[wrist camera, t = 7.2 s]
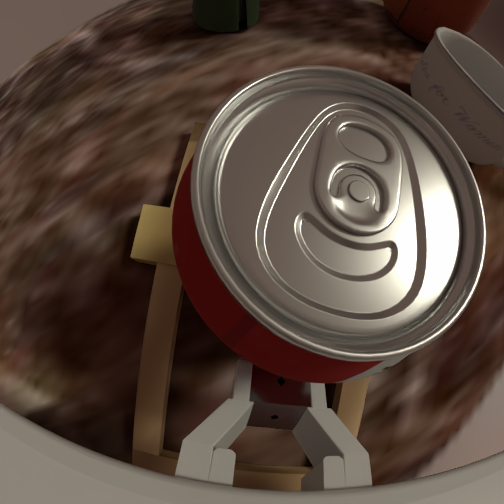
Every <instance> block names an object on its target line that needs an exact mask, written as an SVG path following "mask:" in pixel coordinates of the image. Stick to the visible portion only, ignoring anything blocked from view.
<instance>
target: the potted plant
mask: <svg viewBox="0 0 504 504" xmlns="http://www.w3.org/2000/svg"><path fill="white" fill-rule="evenodd" d="M490 1H491V0H383V2H384V6H385V10H386V12H387V14H388V15H389V17H390V18H391V20H392V21H393V22H394V23H395V25H396V26H398V27H399V28H400V29H401V30H402V31H403V32H405V33H406V34H408V35H409V36H411V37H413V38H414V39H416V40H419V41H421V42H423V43H426V44H429V43H430V42H431V40H432V39H433V37H434V32H435V30H436V29H437V28H439V27H446V28H448V29H452V30H454V31H456V32H459V33H461V34H462V35H465V34H466V33H467V32H468V31H470V30H471V28H472V27H473V26H474V24H475V23H476V21H477V20H478V18H479V17H480V16H481V14H482V13H483V12H484V10H485V9H486V7H487V6H488V4H489V3H490Z"/></svg>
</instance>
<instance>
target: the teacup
mask: <svg viewBox="0 0 504 504" xmlns="http://www.w3.org/2000/svg"><path fill="white" fill-rule="evenodd" d="M410 88H411V95H412V98H413V99H415V100H416V101H417V102H419V103H420V104H421V105H422V106H423V107H425V108H426V109H427V110H428V111H429V112H430V113H431V114H432V115H433V116H434V117H435V118H436V119H437V120H438V121H439V122H440V123H441V124H442V125H443V126H444V127H445V129H446V130H447V131H448V132H449V134H450V135H451V136H452V138H453V139H454V140H455V142H456V143H457V145H458V146H459V148H460V149H461V151H462V153H463V154H464V156H465V158H466V160H467V161H469V162H472V163H475V164H480V165H487V164H491V163H492V164H493V165H494V166H495V167H496V168H503V169H504V67H503V66H502V65H501V64H500V63H499V62H498V61H497V60H496V59H495V58H494V57H493V56H491V55H490V54H489V53H488V52H487V51H485V50H484V49H483V48H482V47H481V46H479V45H478V44H477V43H475V42H474V41H472V40H471V39H469V38H468V37H466V36H464V35H462V34H461V33H459V32H456V31H454V30H452V29H448V28H446V27H439V28H437V29H436V30H435V32H434V37H433V39H432V40H431V42H430V43H429V45H428V47H427V48H426V50H425V52H424V53H423V55H422V57H421V58H420V60H419V62H418V64H417V66H416V68H415V70H414V72H413V75H412V78H411V86H410Z"/></svg>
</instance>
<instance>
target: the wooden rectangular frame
mask: <svg viewBox="0 0 504 504" xmlns="http://www.w3.org/2000/svg"><path fill="white" fill-rule="evenodd" d="M205 125H206V123H196V122H195V124H194V127H193V130H192V133H191V136H190V139H189V142H188V146H187V149H186V152H185V156H184V159H183V162H182V166H181V169H180V173H179V176H178V180H177V184H176V187H175V191H174V195H173V199H172V202H171V206H170V208H168V207H161V206H153V205H146V204H144V205H143V209H142V212H141V216H140V220H139V223H138V227H137V231H136V235H135V239H134V243H133V248H132V252H131V256H130V257H131V258H132V259H134V260H135V261H137V262H141V263H146V264H152V265H157V267H156V272H155V277H154V282H153V287H152V292H151V298H150V303H149V309H148V315H147V321H146V327H145V333H144V340H143V347H142V354H141V362H140V370H139V378H138V387H137V397H136V407H135V419H134V433H133V451H132V465H135V466H138V467H141V468H145V469H148V470H152V471H155V472H159V473H163V474H167V475H171V476H175V472H176V468H177V463H178V459H179V455H180V453H177V452H173V451H169V450H164V449H163V440H164V430H165V420H166V411H167V402H168V394H169V386H170V378H171V371H172V364H173V357H174V350H175V343H176V337H177V330H178V324H179V318H180V312H181V306H182V300H183V295H184V289H185V288H184V286H183V283H182V281H181V278H180V275H179V272H178V269H177V265H176V261H175V256H174V251H173V242H172V214H173V207H174V200H175V196H176V193H177V189H178V185H179V183H180V180H181V178H182V175H183V173H184V171H185V169H186V167H187V165H188V163H189V161H190V159H191V158H192V156H193V155H194V153H195V149H196V146H197V143H198V140H199V138H200V135H201V133H202V131H203V129H204V127H205ZM368 381H369V376H368V377H365V378H362V379H358V380H354V381H348V382H342V383H336V388H335V393H334V399H333V404H332V410H333V412H334V413H335V414H336V415H337V416H338V418H339V419H340V420H341V421H342V423H343V424H344V425H345V426H346V427H347V429H348V430H349V431H350V432H351V433H352V435H353V436H354V437H355V438H357V434H358V430H359V425H360V421H361V416H362V412H363V407H364V402H365V397H366V392H367V386H368ZM313 468H314V467H292V466H270V465H256V464H246V463H237V462H235V466H234V476H233V485H232V487H240V488H250V489H262V490H281V491H301V478H302V477H304V476H305V475H306V474H307V473H308V472H310V471H311V470H312V469H313Z"/></svg>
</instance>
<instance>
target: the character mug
mask: <svg viewBox="0 0 504 504" xmlns="http://www.w3.org/2000/svg"><path fill="white" fill-rule="evenodd" d="M192 17H193V19H194V21H195V23H196V24H197V25H199V26H200V27H202V28H203V29H205V30H210V31H216V32H235V31H238V30H239V22H240V21H242V20H245V19H247V28H250V27H252V26H253V25H255V24H256V23H257V22H258V20H259V0H193V11H192Z"/></svg>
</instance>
